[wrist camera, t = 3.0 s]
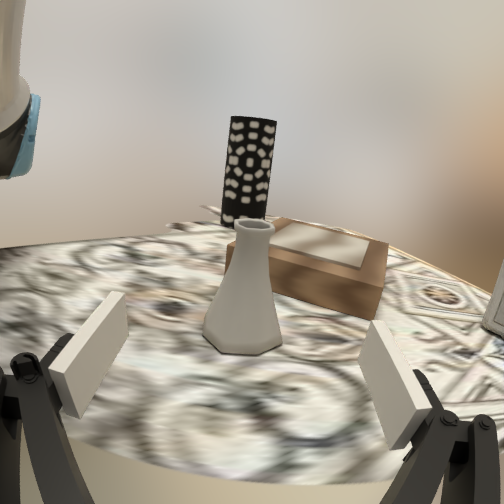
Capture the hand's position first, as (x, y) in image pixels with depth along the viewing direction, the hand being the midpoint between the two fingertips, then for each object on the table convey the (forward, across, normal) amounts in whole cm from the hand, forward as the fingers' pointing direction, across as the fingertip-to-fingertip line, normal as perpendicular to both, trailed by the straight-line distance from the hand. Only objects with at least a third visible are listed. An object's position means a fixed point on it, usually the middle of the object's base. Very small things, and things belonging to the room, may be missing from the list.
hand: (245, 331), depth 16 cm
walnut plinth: (+26, +9, -7) cm, 28 cm away
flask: (+10, 0, -7) cm, 12 cm away
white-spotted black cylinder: (+45, -2, -7) cm, 45 cm away
